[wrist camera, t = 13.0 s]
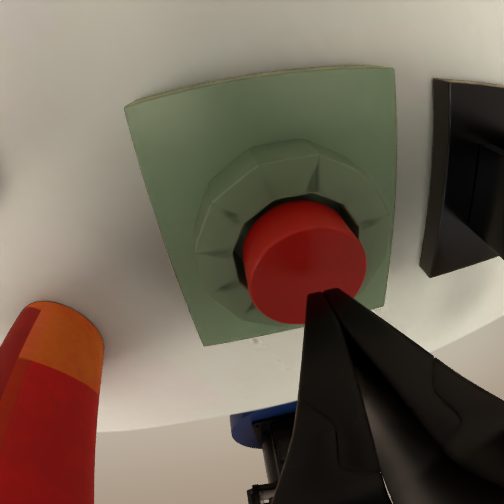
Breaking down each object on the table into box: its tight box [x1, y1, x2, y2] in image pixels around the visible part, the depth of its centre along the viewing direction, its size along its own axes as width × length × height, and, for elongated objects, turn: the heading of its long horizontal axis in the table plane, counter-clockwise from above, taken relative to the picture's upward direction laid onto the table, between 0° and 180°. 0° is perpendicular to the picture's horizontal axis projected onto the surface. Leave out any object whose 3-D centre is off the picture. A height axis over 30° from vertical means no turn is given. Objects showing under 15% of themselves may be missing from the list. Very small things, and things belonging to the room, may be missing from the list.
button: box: [242, 200, 367, 324], centre depth 10 cm, size 4×4×2 cm
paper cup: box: [0, 301, 104, 504], centre depth 10 cm, size 8×8×14 cm
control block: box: [124, 65, 397, 346], centre depth 12 cm, size 11×9×4 cm
